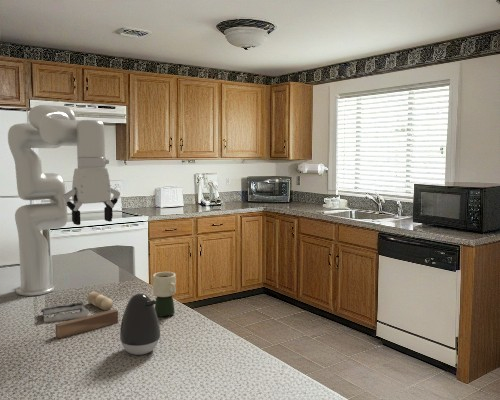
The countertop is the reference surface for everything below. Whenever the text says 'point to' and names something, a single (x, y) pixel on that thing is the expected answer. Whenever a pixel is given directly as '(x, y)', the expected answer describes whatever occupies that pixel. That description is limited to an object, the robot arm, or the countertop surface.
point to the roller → (100, 301)
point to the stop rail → (86, 323)
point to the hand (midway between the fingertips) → (92, 222)
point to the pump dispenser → (139, 325)
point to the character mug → (164, 292)
